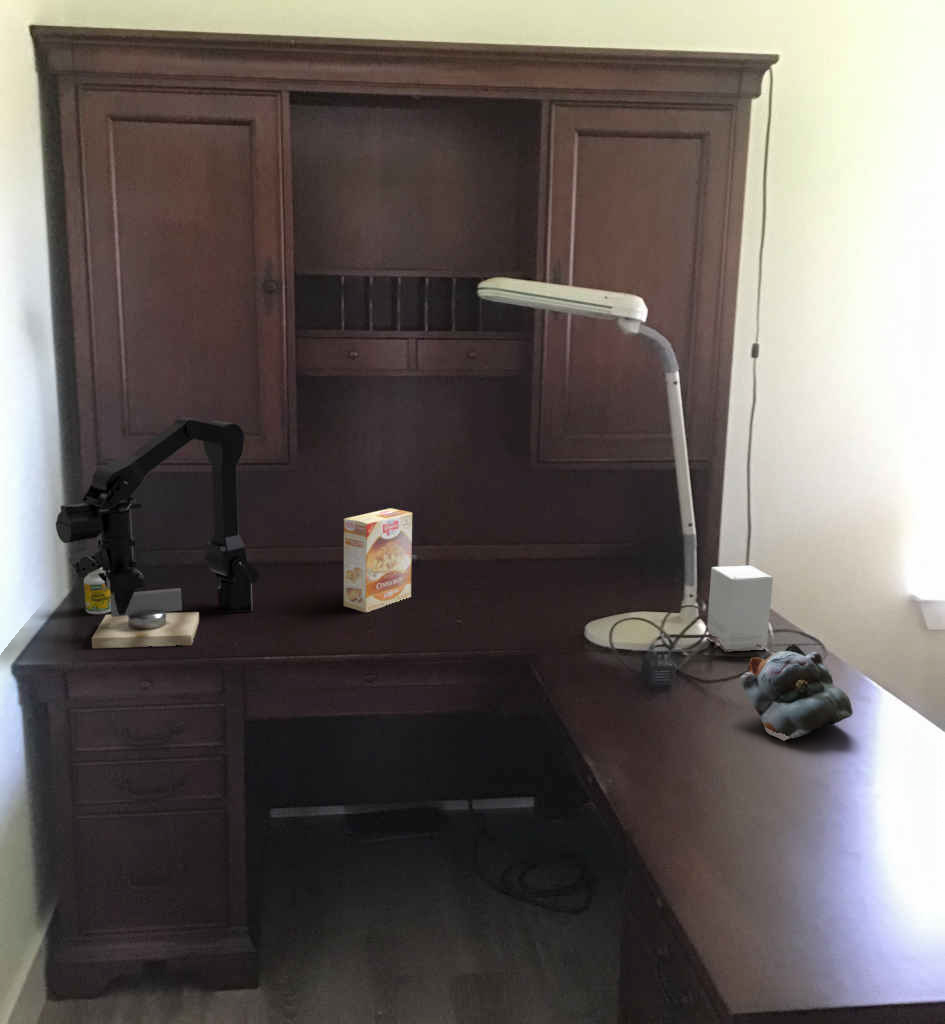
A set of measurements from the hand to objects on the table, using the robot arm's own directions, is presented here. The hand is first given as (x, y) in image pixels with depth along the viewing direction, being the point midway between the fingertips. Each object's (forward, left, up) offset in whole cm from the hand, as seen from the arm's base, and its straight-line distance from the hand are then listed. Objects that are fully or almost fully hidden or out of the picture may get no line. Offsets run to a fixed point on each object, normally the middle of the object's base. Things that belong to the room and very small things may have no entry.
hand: (120, 612), depth 194 cm
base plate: (-5, -1, -5) cm, 7 cm away
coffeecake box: (-51, -18, -5) cm, 54 cm away
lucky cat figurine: (-112, +54, -5) cm, 124 cm away
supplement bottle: (+7, -17, -5) cm, 19 cm away
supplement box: (-119, +16, -5) cm, 120 cm away
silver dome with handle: (-5, -1, -3) cm, 6 cm away
